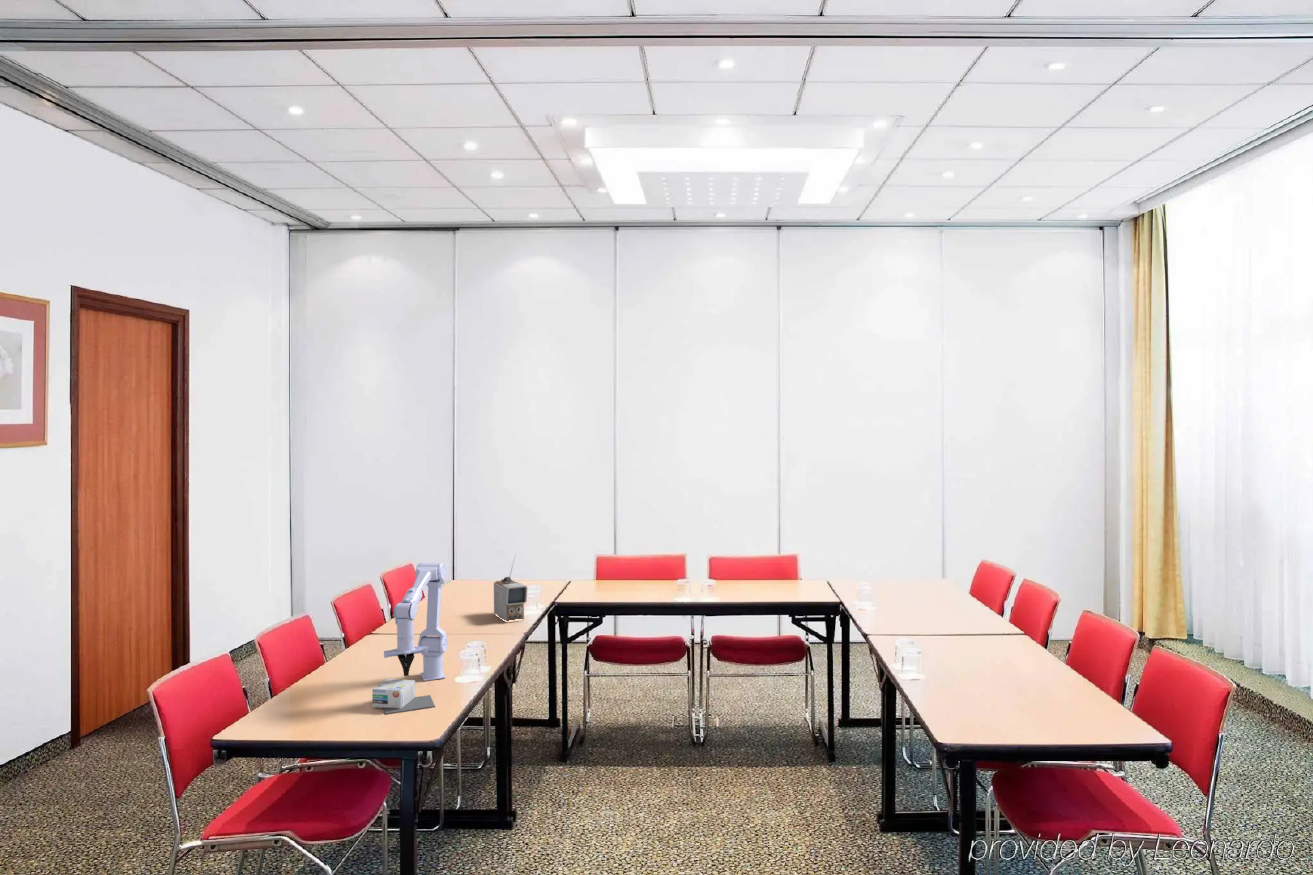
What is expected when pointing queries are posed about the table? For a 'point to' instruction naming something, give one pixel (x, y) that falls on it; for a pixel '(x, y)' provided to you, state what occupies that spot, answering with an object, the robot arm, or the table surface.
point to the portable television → (509, 598)
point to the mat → (413, 705)
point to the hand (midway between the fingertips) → (406, 675)
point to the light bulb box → (393, 693)
